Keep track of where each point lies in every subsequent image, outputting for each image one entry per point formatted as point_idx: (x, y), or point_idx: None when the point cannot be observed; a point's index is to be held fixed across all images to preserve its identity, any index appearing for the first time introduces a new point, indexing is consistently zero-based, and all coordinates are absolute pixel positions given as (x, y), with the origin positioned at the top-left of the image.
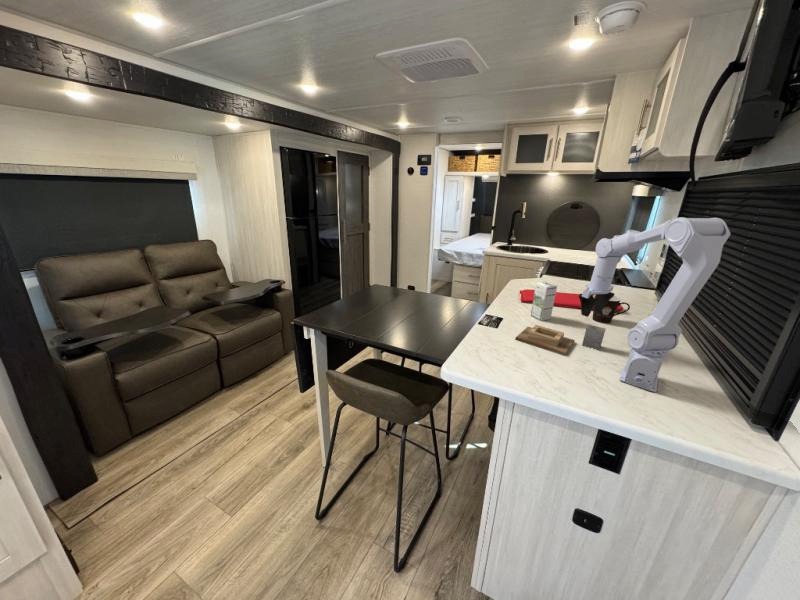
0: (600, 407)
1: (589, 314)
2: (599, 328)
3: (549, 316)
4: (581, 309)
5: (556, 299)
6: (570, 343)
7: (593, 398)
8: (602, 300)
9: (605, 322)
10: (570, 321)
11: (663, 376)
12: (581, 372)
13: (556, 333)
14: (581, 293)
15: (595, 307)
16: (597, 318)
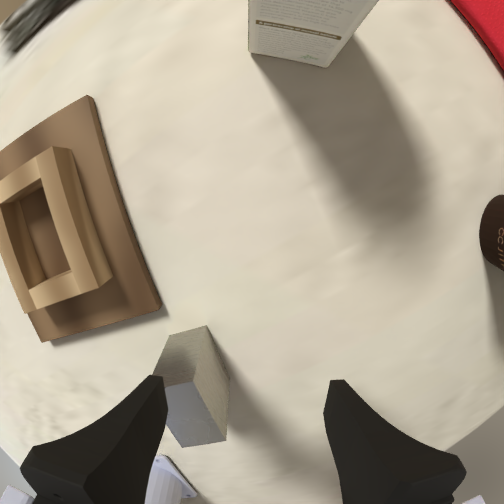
0: (7, 442)
1: (163, 425)
2: (197, 427)
3: (316, 59)
4: (127, 396)
5: (499, 18)
6: (112, 316)
7: (8, 432)
8: (350, 478)
9: (487, 258)
10: (393, 148)
11: (219, 496)
12: (36, 398)
13: (72, 262)
14: (60, 481)
15: (336, 398)
16: (489, 230)
